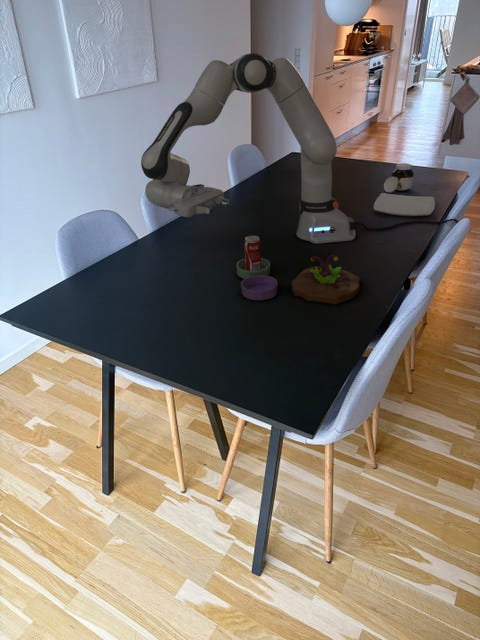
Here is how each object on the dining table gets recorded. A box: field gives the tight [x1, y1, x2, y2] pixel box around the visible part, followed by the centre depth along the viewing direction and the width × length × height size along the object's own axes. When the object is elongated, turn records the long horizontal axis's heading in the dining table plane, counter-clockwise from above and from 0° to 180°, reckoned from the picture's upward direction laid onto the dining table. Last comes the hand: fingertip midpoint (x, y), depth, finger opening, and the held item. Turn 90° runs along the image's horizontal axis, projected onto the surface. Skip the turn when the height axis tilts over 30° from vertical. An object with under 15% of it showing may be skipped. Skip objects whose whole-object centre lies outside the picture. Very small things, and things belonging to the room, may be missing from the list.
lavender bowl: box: [240, 275, 278, 301], centre depth 146 cm, size 11×11×3 cm
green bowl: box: [235, 257, 271, 280], centre depth 157 cm, size 11×11×3 cm
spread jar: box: [383, 162, 415, 194], centre depth 222 cm, size 12×11×12 cm
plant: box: [291, 254, 362, 305], centre depth 144 cm, size 20×20×11 cm
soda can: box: [243, 235, 262, 271], centre depth 155 cm, size 5×5×12 cm
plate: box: [373, 192, 436, 217], centre depth 203 cm, size 24×24×3 cm
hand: (219, 206), depth 154 cm, fingers open, 8 cm apart
